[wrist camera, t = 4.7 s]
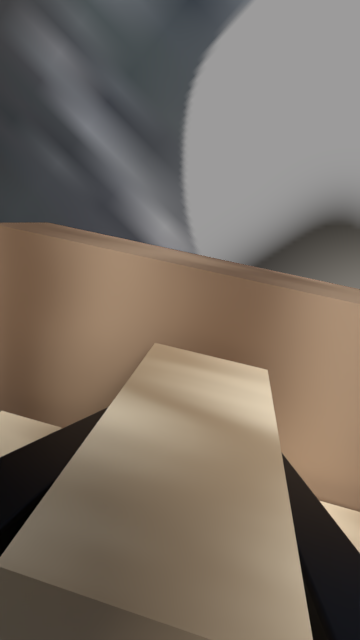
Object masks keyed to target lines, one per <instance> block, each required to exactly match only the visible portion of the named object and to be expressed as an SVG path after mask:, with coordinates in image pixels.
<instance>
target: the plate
mask: <svg viewBox="0 0 360 640" xmlns="http://www.w3.org/2000/svg"><path fill="white" fill-rule="evenodd" d="M155 343H158V344H162V345H167V346H171V347H175V348H179V349H183V350H187V351H191V352H196V353H200V354H204V355H208V356H212V357H216V358H220V359H225V360H229V361H233V362H237V363H241V364H245V365H249V366H254V367H258V368H262V369H266V370H268V375H269V381H270V387H271V393H272V399H273V405H274V411H275V417H276V423H277V429H278V435H279V441H280V447H281V452H282V453H283V455H284V456H285V457H286V458H287V460H288V461H289V462H290V464H291V465H292V466H293V467H294V469H295V470H296V471H297V473H298V474H299V475H300V476H301V478H302V479H303V480H304V482H305V483H306V484H307V485H308V487H309V488H310V489H311V491H312V492H313V493H314V495H315V496H316V497H317V498H318V500H319V501H322V502H326V503H330V504H333V505H337V506H340V507H344V508H347V509H351V510H354V511H358V512H360V289H356V288H351V287H346V286H342V285H337V284H333V283H327V282H323V281H319V280H314V279H309V278H305V277H300V276H295V275H290V274H286V273H281V272H276V271H272V270H267V269H262V268H258V267H253V266H248V265H244V264H239V263H234V262H229V261H225V260H220V259H215V258H211V257H206V256H202V255H197V254H192V253H188V252H183V251H178V250H174V249H169V248H164V247H160V246H155V245H150V244H145V243H141V242H136V241H131V240H127V239H122V238H117V237H113V236H108V235H103V234H99V233H94V232H89V231H85V230H80V229H75V228H71V227H66V226H61V225H57V224H52V223H0V412H1V411H5V412H8V413H12V414H15V415H19V416H22V417H26V418H29V419H33V420H36V421H40V422H43V423H47V424H51V425H54V426H58V427H61V428H64V427H66V426H68V425H70V424H73V423H75V422H77V421H79V420H81V419H83V418H85V417H88V416H90V415H92V414H94V413H96V412H98V411H101V410H103V409H105V408H107V407H109V406H110V404H111V403H112V402H113V400H114V399H115V398H116V396H117V395H118V393H119V392H120V391H121V389H122V388H123V386H124V385H125V384H126V382H127V381H128V380H129V378H130V377H131V375H132V374H133V373H134V371H135V370H136V368H137V367H138V366H139V364H140V363H141V362H142V360H143V359H144V357H145V356H146V355H147V353H148V352H149V350H150V349H151V348H152V346H153V345H154V344H155Z"/></svg>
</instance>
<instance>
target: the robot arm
mask: <svg viewBox="0 0 360 640" xmlns="http://www.w3.org/2000/svg"><path fill="white" fill-rule="evenodd" d="M107 409H108V407H107V408H105V409H103V410H101V411H98V412H96V413H94V414H92V415H90V416H88V417H85V418H83V419H81V420H79V421H77V422H75V423H73V424H70V425H68V426H66V427H64V428H62V429H60V430H57V431H55V432H53V433H51V434H49V435H47V436H45V437H42V438H40V439H38V440H36V441H34V442H32V443H29V444H27V445H25V446H23V447H21V448H19V449H17V450H14V451H12V452H10V453H8V454H6V455H4V456H1V457H0V557H1V555H2V554H3V552H4V551H5V550H6V548H7V547H8V546H9V544H10V543H11V541H12V540H13V539H14V537H15V536H16V534H17V533H18V532H19V530H20V529H21V528H22V526H23V525H24V523H25V522H26V521H27V519H28V518H29V516H30V515H31V514H32V512H33V511H34V510H35V508H36V507H37V505H38V504H39V503H40V501H41V500H42V499H43V497H44V496H45V494H46V493H47V492H48V490H49V489H50V487H51V486H52V485H53V483H54V482H55V481H56V479H57V478H58V476H59V475H60V474H61V472H62V471H63V469H64V468H65V467H66V465H67V464H68V463H69V461H70V460H71V458H72V457H73V456H74V454H75V453H76V451H77V450H78V449H79V447H80V446H81V445H82V443H83V442H84V440H85V439H86V438H87V436H88V435H89V433H90V432H91V431H92V429H93V428H94V427H95V425H96V424H97V422H98V421H99V420H100V418H101V417H102V416H103V414H104V413H105V411H106V410H107ZM281 453H282V452H281ZM282 459H283V464H284V470H285V476H286V482H287V488H288V494H289V500H290V506H291V512H292V518H293V524H294V530H295V536H296V542H297V548H298V554H299V560H300V566H301V572H302V578H303V584H304V590H305V596H306V602H307V608H308V613H309V619H310V625H311V631H312V637H313V640H360V553H359V551H358V550H357V549H356V547H355V546H354V545H353V544H352V542H351V541H350V540H349V538H348V537H347V536H346V534H345V533H344V532H343V531H342V529H341V528H340V527H339V525H338V524H337V523H336V522H335V520H334V519H333V518H332V516H331V515H330V514H329V513H328V511H327V510H326V509H325V507H324V506H323V505H322V504H321V502H320V501H319V500H318V498H317V497H316V496H315V495H314V493H313V492H312V491H311V489H310V488H309V487H308V485H307V484H306V483H305V482H304V480H303V479H302V478H301V476H300V475H299V474H298V473H297V471H296V470H295V469H294V467H293V466H292V465H291V464H290V462H289V461H288V460H287V458H286V457H285V456H284V455H283V453H282Z"/></svg>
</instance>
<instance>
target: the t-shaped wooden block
mask: <svg viewBox="0 0 360 640" xmlns="http://www.w3.org/2000/svg"><path fill="white" fill-rule="evenodd" d="M60 429H62V428H61V427H58V426H54V425H51V424H47V423H43V422H40V421H36V420H33V419H29V418H26V417H22V416H19V415H15V414H12V413H8V412H5V411H1V412H0V457H1V456H4V455H6V454H8V453H10V452H12V451H14V450H17V449H19V448H21V447H23V446H25V445H27V444H29V443H32V442H34V441H36V440H38V439H40V438H42V437H45V436H47V435H49V434H51V433H53V432H55V431H57V430H60ZM320 502H321V504H322V505H323V506H324V507H325V509H326V510H327V511H328V513H329V514H330V515H331V516H332V518H333V519H334V520H335V522H336V523H337V524H338V525H339V527H340V528H341V529H342V531H343V532H344V533H345V534H346V536H347V537H348V538H349V540H350V541H351V542H352V544H353V545H354V546H355V547H356V549H357V550H358V551H359V553H360V512H358V511H354V510H351V509H347V508H344V507H340V506H337V505H333V504H330V503H326V502H322V501H320ZM0 640H313V637H312V631H311V625H310V619H309V613H308V608H307V602H306V596H305V590H304V584H303V578H302V572H301V566H300V560H299V554H298V548H297V542H296V536H295V530H294V524H293V518H292V512H291V506H290V500H289V494H288V488H287V482H286V476H285V470H284V464H283V459H282V453H281V447H280V441H279V435H278V429H277V423H276V417H275V411H274V405H273V399H272V393H271V387H270V381H269V375H268V370H266V369H262V368H258V367H254V366H249V365H245V364H241V363H237V362H233V361H229V360H225V359H220V358H216V357H212V356H208V355H204V354H200V353H196V352H191V351H187V350H183V349H179V348H175V347H171V346H167V345H162V344H158V343H155V344H154V345H153V346H152V348H151V349H150V350H149V352H148V353H147V355H146V356H145V357H144V359H143V360H142V362H141V363H140V364H139V366H138V367H137V368H136V370H135V371H134V373H133V374H132V375H131V377H130V378H129V380H128V381H127V382H126V384H125V385H124V386H123V388H122V389H121V391H120V392H119V393H118V395H117V396H116V398H115V399H114V400H113V402H112V403H111V404H110V406H109V407H108V409H107V410H106V411H105V413H104V414H103V416H102V417H101V418H100V420H99V421H98V422H97V424H96V425H95V427H94V428H93V429H92V431H91V432H90V433H89V435H88V436H87V438H86V439H85V440H84V442H83V443H82V445H81V446H80V447H79V449H78V450H77V451H76V453H75V454H74V456H73V457H72V458H71V460H70V461H69V463H68V464H67V465H66V467H65V468H64V469H63V471H62V472H61V474H60V475H59V476H58V478H57V479H56V481H55V482H54V483H53V485H52V486H51V487H50V489H49V490H48V492H47V493H46V494H45V496H44V497H43V499H42V500H41V501H40V503H39V504H38V505H37V507H36V508H35V510H34V511H33V512H32V514H31V515H30V516H29V518H28V519H27V521H26V522H25V523H24V525H23V526H22V528H21V529H20V530H19V532H18V533H17V534H16V536H15V537H14V539H13V540H12V541H11V543H10V544H9V546H8V547H7V548H6V550H5V551H4V552H3V554H2V555H1V557H0Z"/></svg>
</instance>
